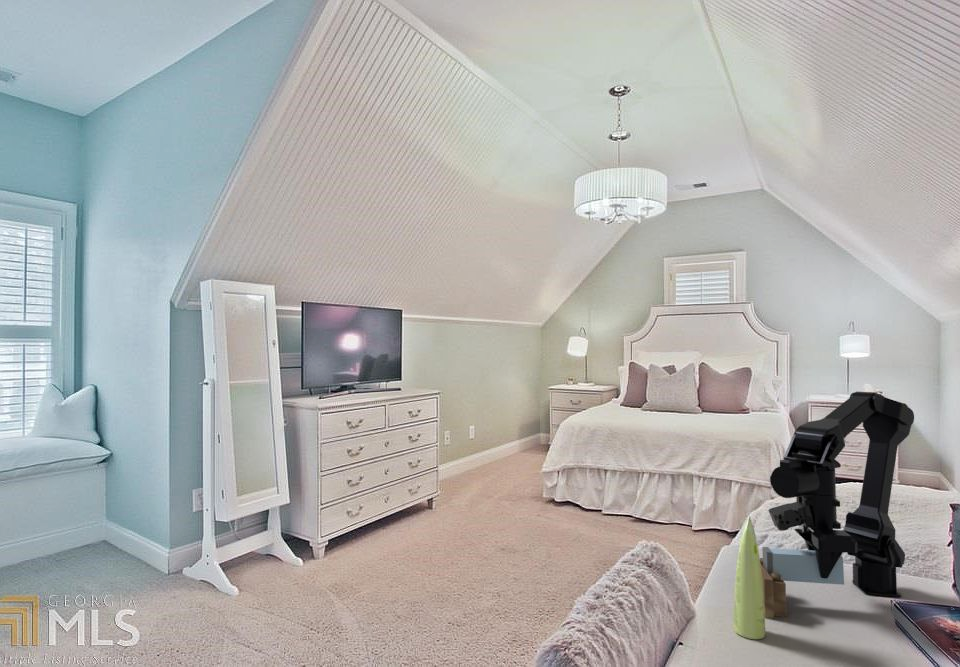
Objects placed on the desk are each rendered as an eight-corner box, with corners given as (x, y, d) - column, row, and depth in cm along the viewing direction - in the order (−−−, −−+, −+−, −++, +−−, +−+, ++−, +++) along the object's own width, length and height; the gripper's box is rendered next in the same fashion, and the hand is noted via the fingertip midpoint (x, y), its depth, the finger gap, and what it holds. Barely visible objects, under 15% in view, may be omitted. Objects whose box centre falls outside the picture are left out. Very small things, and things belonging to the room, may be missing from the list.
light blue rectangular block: (837, 578, 107) (836, 550, 107) (844, 584, 104) (842, 556, 104) (763, 573, 110) (762, 546, 110) (767, 579, 107) (766, 552, 107)
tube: (775, 640, 93) (772, 522, 94) (749, 643, 92) (747, 524, 93) (751, 624, 99) (749, 513, 100) (726, 627, 98) (725, 515, 99)
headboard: (767, 589, 114) (766, 554, 115) (788, 620, 101) (787, 581, 101) (746, 587, 115) (746, 553, 116) (765, 618, 102) (764, 579, 102)
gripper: (759, 479, 118) (761, 554, 117) (787, 501, 100) (789, 590, 99) (818, 482, 115) (820, 558, 114) (857, 505, 97) (860, 596, 96)
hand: (820, 574), depth 106 cm, fingers closed on light blue rectangular block, 3 cm apart
